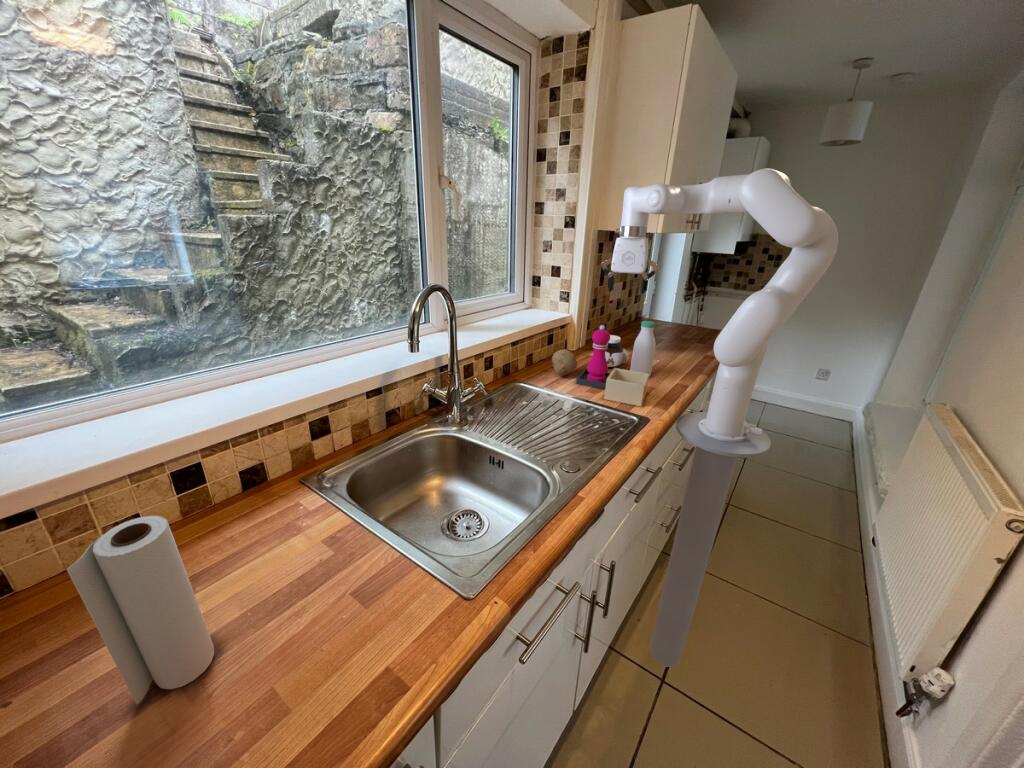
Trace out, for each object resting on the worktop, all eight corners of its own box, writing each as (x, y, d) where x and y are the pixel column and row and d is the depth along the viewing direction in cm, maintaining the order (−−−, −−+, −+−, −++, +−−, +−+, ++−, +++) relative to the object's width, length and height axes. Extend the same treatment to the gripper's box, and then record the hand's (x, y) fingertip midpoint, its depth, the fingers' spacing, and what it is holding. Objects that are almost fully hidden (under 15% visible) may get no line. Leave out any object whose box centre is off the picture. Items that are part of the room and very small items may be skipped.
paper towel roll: (217, 634, 55) (172, 507, 47) (212, 676, 50) (160, 542, 42) (150, 659, 52) (88, 527, 44) (137, 706, 47) (65, 567, 39)
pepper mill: (600, 385, 140) (607, 329, 132) (582, 380, 144) (587, 325, 136) (609, 379, 145) (617, 325, 138) (591, 374, 149) (597, 321, 142)
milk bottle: (652, 378, 149) (661, 325, 141) (630, 376, 150) (638, 323, 142) (649, 371, 156) (658, 320, 148) (628, 369, 157) (636, 318, 149)
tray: (614, 379, 147) (615, 374, 147) (607, 389, 138) (608, 384, 137) (585, 373, 152) (585, 368, 151) (576, 383, 142) (576, 378, 141)
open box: (646, 393, 136) (649, 373, 133) (640, 406, 126) (644, 385, 124) (611, 386, 141) (614, 367, 138) (603, 399, 131) (606, 378, 128)
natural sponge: (574, 371, 153) (576, 346, 149) (577, 380, 145) (579, 354, 141) (550, 371, 153) (551, 345, 149) (551, 379, 145) (553, 353, 141)
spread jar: (593, 366, 159) (596, 338, 154) (599, 358, 169) (602, 331, 164) (624, 371, 155) (628, 342, 150) (628, 362, 164) (632, 335, 160)
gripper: (601, 232, 120) (596, 291, 126) (662, 233, 113) (653, 295, 119) (607, 232, 126) (601, 288, 133) (665, 233, 119) (657, 292, 126)
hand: (626, 291), depth 126 cm, fingers open, 9 cm apart
